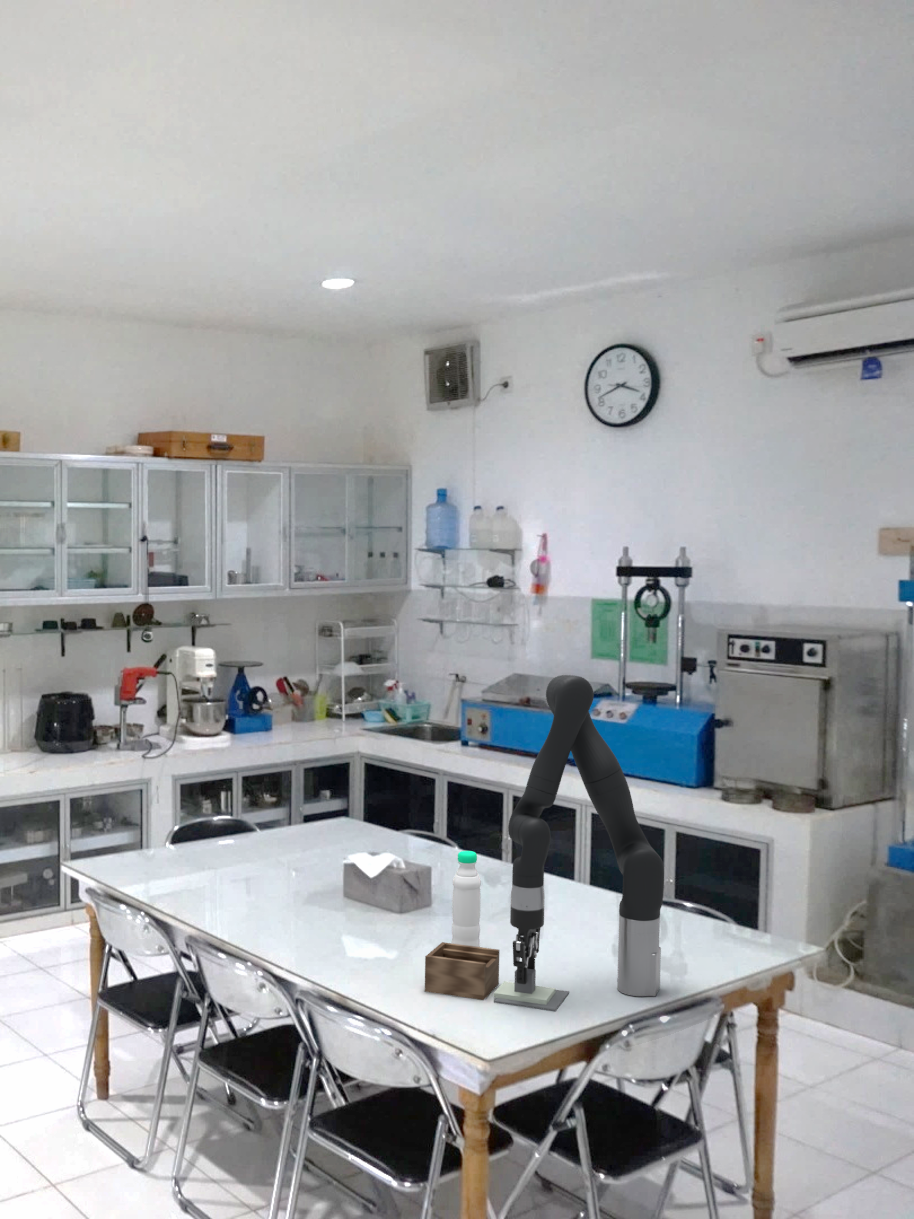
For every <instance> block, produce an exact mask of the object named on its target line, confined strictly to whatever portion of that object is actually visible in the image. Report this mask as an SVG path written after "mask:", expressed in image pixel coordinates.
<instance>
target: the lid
mask: <svg viewBox="0 0 914 1219" xmlns="http://www.w3.org/2000/svg"><path fill="white" fill-rule="evenodd" d="M536 972H537V971H536V969H535V970H534V969H527V983H526V984H518V983H517V969H515V971H514V982H513V981H505V980H504V981H503V982H502V983H501V984H500V986H498V987H497V989H495V991H494V992H493V998H494V999H496V998H502V999H509V1000H516V1001H523V1002H530V1003H537V1004H544V1005H546V1004H547V1003H548V1002H549V1000H550V999H551V998H552V996H553V995H554V994H555V989H556V988H555V987H549V986H543V985H542V986H541V985H536V976H537V975H536Z"/></svg>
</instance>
